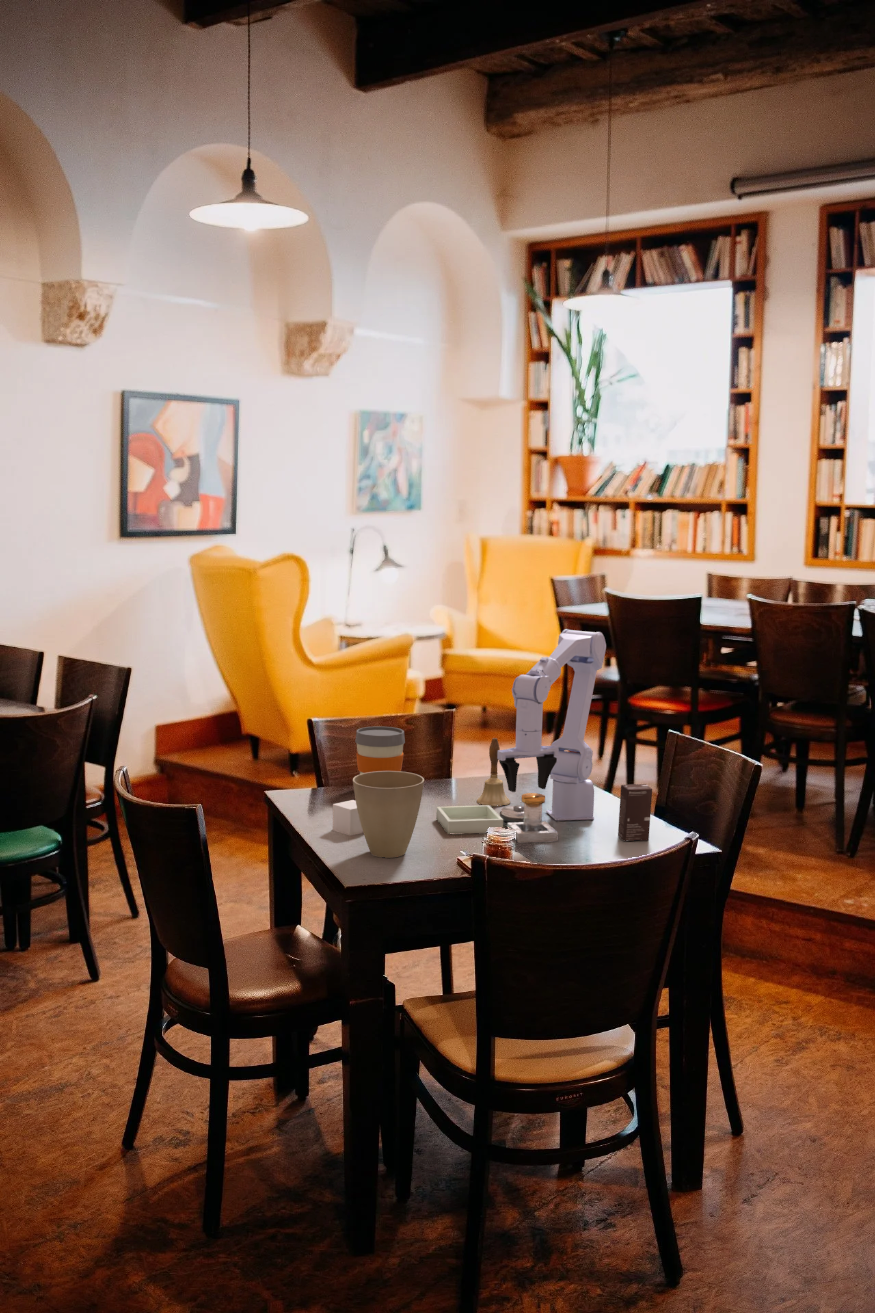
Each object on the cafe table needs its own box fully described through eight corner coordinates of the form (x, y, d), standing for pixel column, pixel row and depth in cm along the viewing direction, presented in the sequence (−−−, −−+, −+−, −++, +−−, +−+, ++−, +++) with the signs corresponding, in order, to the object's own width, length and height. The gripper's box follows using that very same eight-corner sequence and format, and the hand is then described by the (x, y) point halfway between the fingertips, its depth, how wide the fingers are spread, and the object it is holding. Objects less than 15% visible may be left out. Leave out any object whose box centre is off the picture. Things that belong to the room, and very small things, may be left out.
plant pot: (370, 839, 267) (371, 767, 265) (433, 848, 261) (435, 775, 259) (339, 857, 253) (340, 782, 251) (404, 867, 248) (406, 790, 245)
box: (624, 842, 269) (627, 789, 267) (617, 836, 273) (619, 784, 272) (650, 841, 270) (653, 788, 269) (642, 835, 275) (645, 783, 273)
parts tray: (488, 817, 287) (489, 805, 286) (502, 832, 275) (503, 819, 274) (436, 819, 284) (436, 806, 284) (448, 834, 272) (448, 821, 271)
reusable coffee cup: (344, 787, 312) (345, 730, 310) (382, 780, 320) (383, 724, 318) (376, 797, 303) (377, 738, 301) (414, 790, 311) (415, 732, 309)
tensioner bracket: (531, 817, 288) (532, 801, 287) (557, 841, 269) (558, 824, 268) (494, 818, 286) (495, 802, 286) (518, 842, 267) (518, 825, 266)
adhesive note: (350, 836, 269) (350, 809, 269) (332, 830, 274) (332, 804, 273) (370, 831, 274) (370, 805, 273) (352, 825, 278) (353, 799, 277)
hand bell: (470, 803, 300) (472, 739, 298) (487, 796, 307) (489, 733, 305) (499, 808, 295) (501, 743, 293) (516, 801, 302) (518, 738, 300)
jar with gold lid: (539, 832, 275) (541, 792, 274) (546, 839, 270) (548, 798, 269) (517, 833, 274) (518, 793, 273) (524, 840, 269) (525, 799, 268)
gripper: (547, 723, 277) (545, 782, 278) (491, 728, 270) (489, 788, 272) (564, 729, 270) (562, 789, 272) (507, 734, 264) (505, 795, 266)
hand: (527, 789), depth 272 cm, fingers open, 7 cm apart
